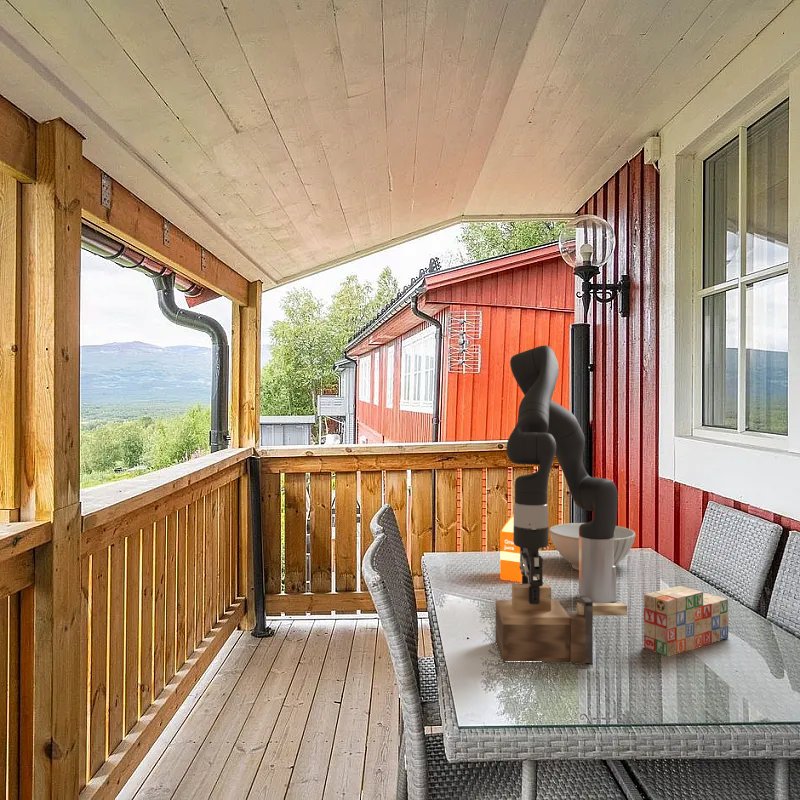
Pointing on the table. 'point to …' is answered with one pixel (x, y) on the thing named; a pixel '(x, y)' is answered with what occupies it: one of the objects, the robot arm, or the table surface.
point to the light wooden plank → (605, 609)
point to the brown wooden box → (549, 639)
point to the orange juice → (509, 554)
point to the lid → (531, 608)
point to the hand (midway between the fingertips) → (530, 598)
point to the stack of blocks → (683, 619)
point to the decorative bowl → (568, 542)
